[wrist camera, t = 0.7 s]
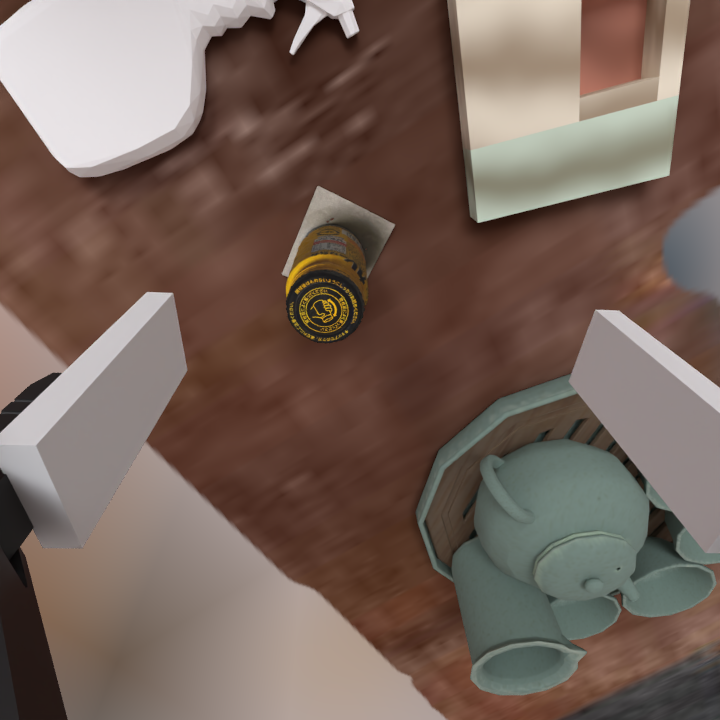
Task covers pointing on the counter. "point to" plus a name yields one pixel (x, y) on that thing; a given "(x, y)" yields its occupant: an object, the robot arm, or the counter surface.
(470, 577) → the tea set
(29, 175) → the counter surface
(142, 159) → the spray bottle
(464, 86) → the trap deck
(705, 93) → the counter surface
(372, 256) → the condiment
